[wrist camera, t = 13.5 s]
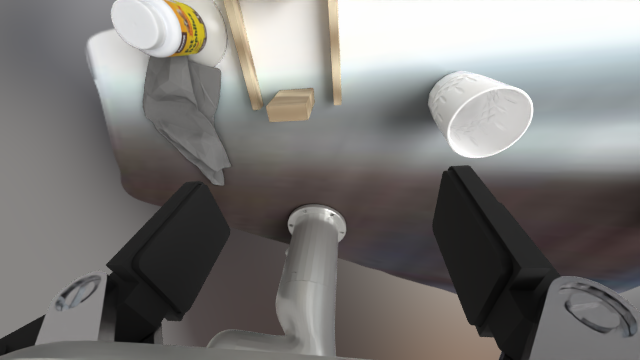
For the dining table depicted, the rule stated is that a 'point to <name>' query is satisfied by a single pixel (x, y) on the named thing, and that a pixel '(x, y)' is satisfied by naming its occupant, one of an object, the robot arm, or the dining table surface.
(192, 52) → the supplement bottle
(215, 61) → the coaster
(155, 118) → the cloth
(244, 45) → the wooden slatted rack
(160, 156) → the dining table surface
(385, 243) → the dining table surface
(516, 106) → the white cup
